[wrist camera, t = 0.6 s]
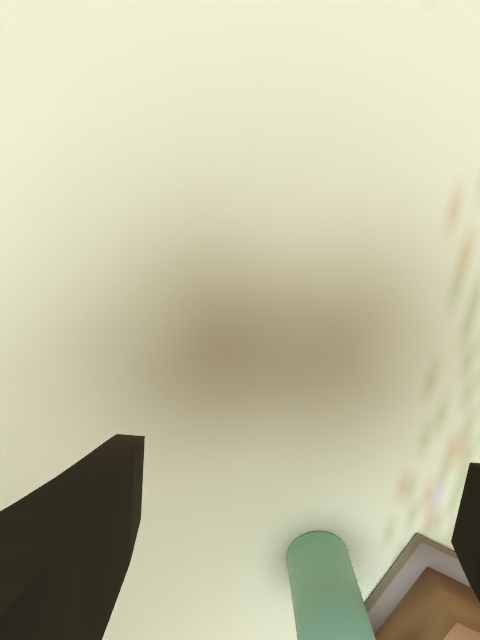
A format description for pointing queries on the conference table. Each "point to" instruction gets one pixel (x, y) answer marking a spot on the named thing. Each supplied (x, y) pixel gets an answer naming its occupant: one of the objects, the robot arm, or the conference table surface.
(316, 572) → the peg
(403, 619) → the socket
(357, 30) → the conference table surface
